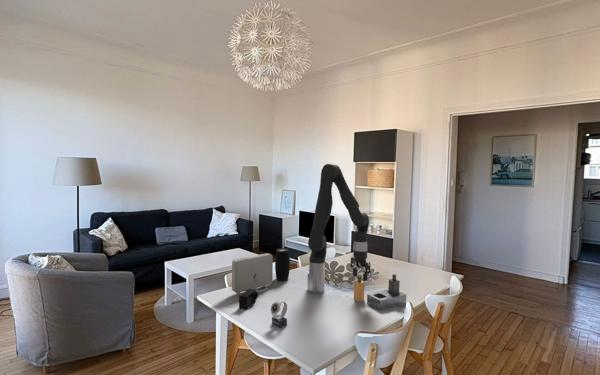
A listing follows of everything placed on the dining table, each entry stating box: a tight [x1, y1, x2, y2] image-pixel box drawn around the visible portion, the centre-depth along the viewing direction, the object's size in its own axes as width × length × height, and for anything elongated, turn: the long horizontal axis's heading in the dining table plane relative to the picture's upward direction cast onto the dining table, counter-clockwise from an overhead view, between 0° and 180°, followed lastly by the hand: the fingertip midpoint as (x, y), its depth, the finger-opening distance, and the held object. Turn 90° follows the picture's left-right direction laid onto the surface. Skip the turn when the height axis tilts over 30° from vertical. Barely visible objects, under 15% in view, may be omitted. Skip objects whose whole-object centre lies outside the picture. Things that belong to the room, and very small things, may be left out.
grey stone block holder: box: [366, 289, 407, 311], centre depth 177 cm, size 19×10×5 cm, turn 119°
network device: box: [231, 253, 274, 296], centre depth 192 cm, size 26×9×20 cm, turn 131°
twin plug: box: [387, 273, 400, 295], centre depth 179 cm, size 4×4×13 cm
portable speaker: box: [274, 247, 291, 282], centre depth 212 cm, size 9×9×20 cm
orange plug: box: [353, 275, 366, 302], centre depth 182 cm, size 4×4×13 cm
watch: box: [270, 299, 288, 329], centre depth 151 cm, size 6×8×11 cm
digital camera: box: [238, 289, 259, 311], centre depth 171 cm, size 10×5×7 cm, turn 160°
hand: (360, 278), depth 182 cm, fingers open, 8 cm apart
